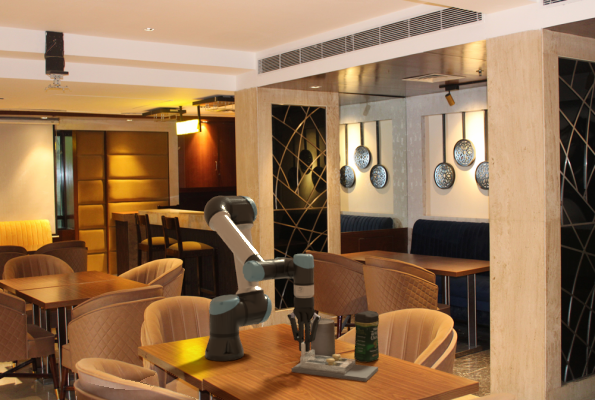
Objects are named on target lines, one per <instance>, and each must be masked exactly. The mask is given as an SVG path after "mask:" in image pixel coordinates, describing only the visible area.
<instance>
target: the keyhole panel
mask: <svg viewBox="0 0 595 400" xmlns="http://www.w3.org/2000/svg"><path fill="white" fill-rule="evenodd" d="M299 358H300V362H299V363H301V368H304V369H311V370H319V371H327V372H334V373H342V374H346V373H347V372H348V371H349V370H350V369H352V368H353V367H354V366H355V364H356V359H355V358H347V357H341V358H339V361H335V362H334V363H333V366H332V365H329V364H328V363H327V362H326V359H328V358H332V357H330V356H322V355H315V349H312V350H311V349H310V351H309V352H307V353H305V354H304V355H302V356H300V357H299ZM333 359H334V358H333Z"/></svg>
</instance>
